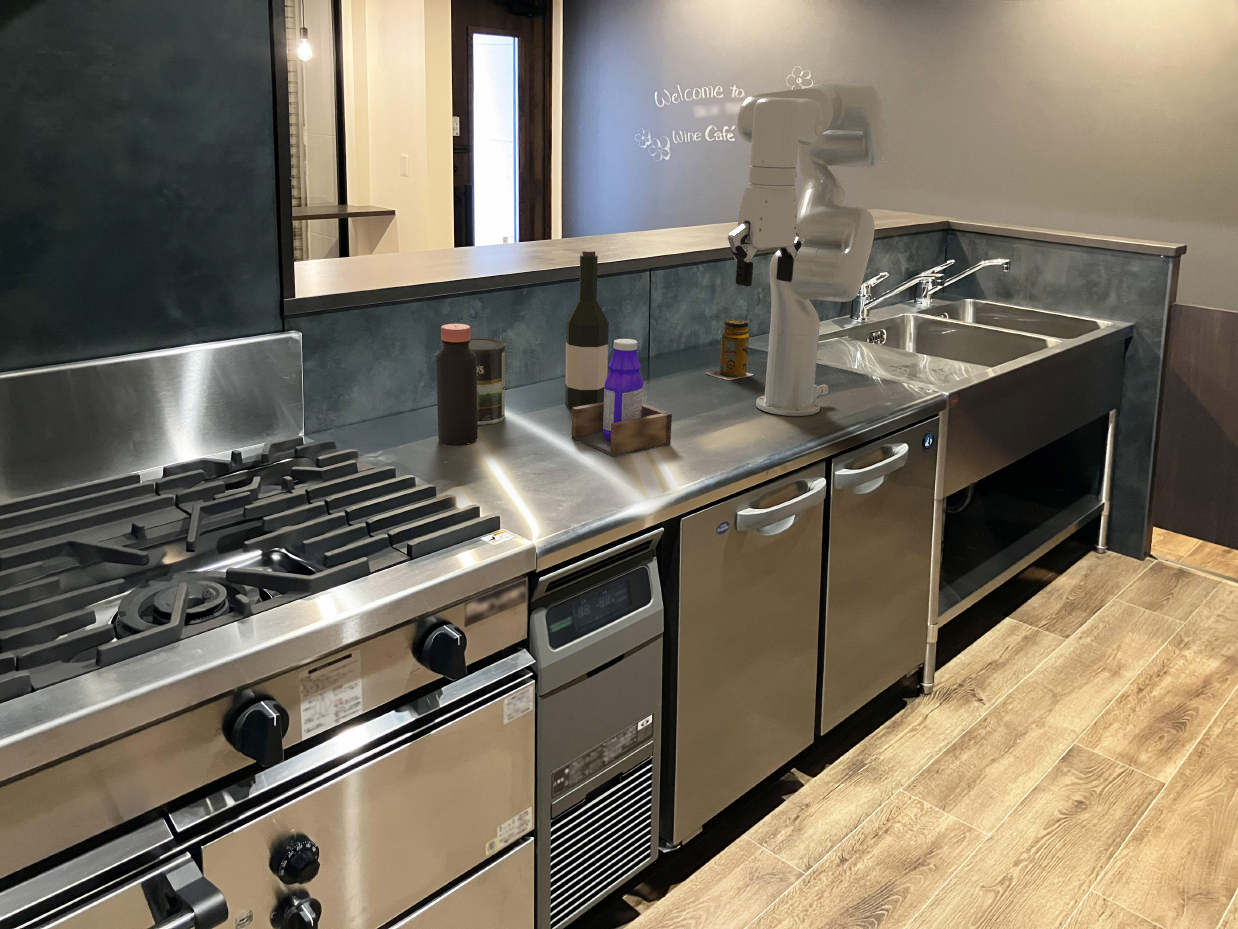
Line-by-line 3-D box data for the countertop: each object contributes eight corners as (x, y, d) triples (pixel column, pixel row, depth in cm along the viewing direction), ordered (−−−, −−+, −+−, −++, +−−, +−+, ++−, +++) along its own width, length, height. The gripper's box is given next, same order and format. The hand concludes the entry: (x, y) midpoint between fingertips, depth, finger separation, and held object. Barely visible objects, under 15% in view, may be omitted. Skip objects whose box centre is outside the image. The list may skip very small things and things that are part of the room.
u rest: (626, 427, 191) (627, 397, 189) (670, 444, 182) (671, 414, 180) (571, 438, 184) (572, 407, 182) (614, 457, 175) (615, 425, 173)
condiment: (754, 375, 232) (758, 322, 228) (729, 381, 226) (733, 326, 222) (729, 368, 237) (732, 316, 233) (704, 374, 231) (707, 321, 227)
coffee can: (489, 428, 188) (489, 352, 183) (439, 420, 191) (437, 345, 187) (515, 414, 197) (515, 340, 192) (467, 407, 200) (466, 335, 196)
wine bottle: (601, 412, 200) (605, 254, 190) (559, 408, 201) (561, 252, 191) (610, 401, 207) (615, 249, 198) (570, 398, 209) (572, 246, 199)
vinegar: (443, 447, 177) (440, 331, 170) (434, 436, 183) (430, 323, 176) (482, 443, 179) (481, 329, 173) (471, 432, 185) (469, 321, 179)
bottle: (620, 430, 187) (623, 335, 182) (646, 436, 184) (650, 339, 178) (596, 439, 182) (599, 341, 176) (623, 446, 179) (626, 346, 173)
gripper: (791, 175, 178) (783, 276, 184) (717, 177, 168) (711, 283, 173) (824, 179, 172) (815, 282, 178) (750, 180, 162) (743, 290, 168)
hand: (764, 282), depth 176 cm, fingers open, 9 cm apart
